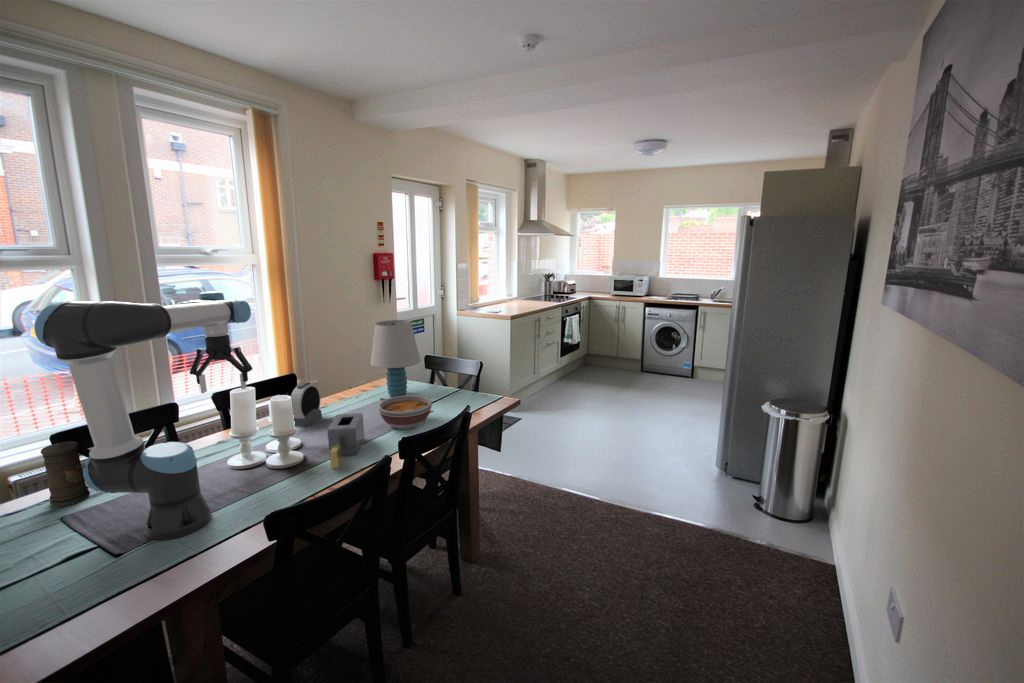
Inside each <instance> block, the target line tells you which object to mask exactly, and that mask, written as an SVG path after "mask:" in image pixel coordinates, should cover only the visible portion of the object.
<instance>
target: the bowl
mask: <svg viewBox="0 0 1024 683" xmlns="http://www.w3.org/2000/svg"><path fill="white" fill-rule="evenodd" d="M432 405H433V404H432V400H431V399H430V398H428V397H426V396H422V395H413V394H412V395H411V394H410V395H408V394H406V395H405V396H398V397H393V398H392V397H390V398H386V399H385V400H382V401H381V402H380V403H379V404H378V411H379V414H380V416H381V418H382V419H383V421H384V422H385V423H386V424H387V425H388V426H390V427H392V428H394V429H397V430H408V429H413V428H416V427H419V426H420V425H421V424H423V423H425V421H426V420H427V418H429V416H430V413H431V410H432Z"/></svg>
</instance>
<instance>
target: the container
mask: <svg viewBox="0 0 1024 683" xmlns="http://www.w3.org/2000/svg"><path fill="white" fill-rule="evenodd" d="M78 451H79V443H78V442H77V441H75V440H74V441H73V440H71V441H70V440H69V441H61V442H57V443H53V444H50V445H47V446H45V447H42V448H41V450H40V454H41V455H42V458H43V460H44V463H43V464H44V467H45V473H46V475H47V476H46V477H47V481H48V491H49V493H50V496H49V498H48V499H49V500H50V501H49V504H50V506H51V507H53V508H59V507H60V508H61V507H66V506H70V505H75V504H77V503H79V502H82V501H83V500H85V499H87V498H88V497H89V496H90V494H91V492H90V491H89V486H88V485H87V483H86V482H85V480H84V476H83V468H82V463H81V458H80V454H79V452H78Z"/></svg>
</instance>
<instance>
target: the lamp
mask: <svg viewBox="0 0 1024 683" xmlns="http://www.w3.org/2000/svg"><path fill="white" fill-rule="evenodd" d="M374 324H375V326H374V332H373V340H372V341H373V342H372V348H371V357H370V365H371V366H372V367H374V368H380V369H386V370H387V372H386V377H385V378H386V386H387V388H386V389H387V393H388V395H389V397H390V398H393V397H398V396H406V395H407V392H408V390H407V388H408V385H407V384H408V381H407V380H408V376H407V371H406V368H407V367H412V366H416V365H418V364H420V362H421V357H420V354H419V353H420V352H419V348H418V345H417V341H416V337H415V333H414V329H413V324H412V322H411V321H410V320H407V319H406V320H404V319H393V320H382V321H377V322H375V323H374Z"/></svg>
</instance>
